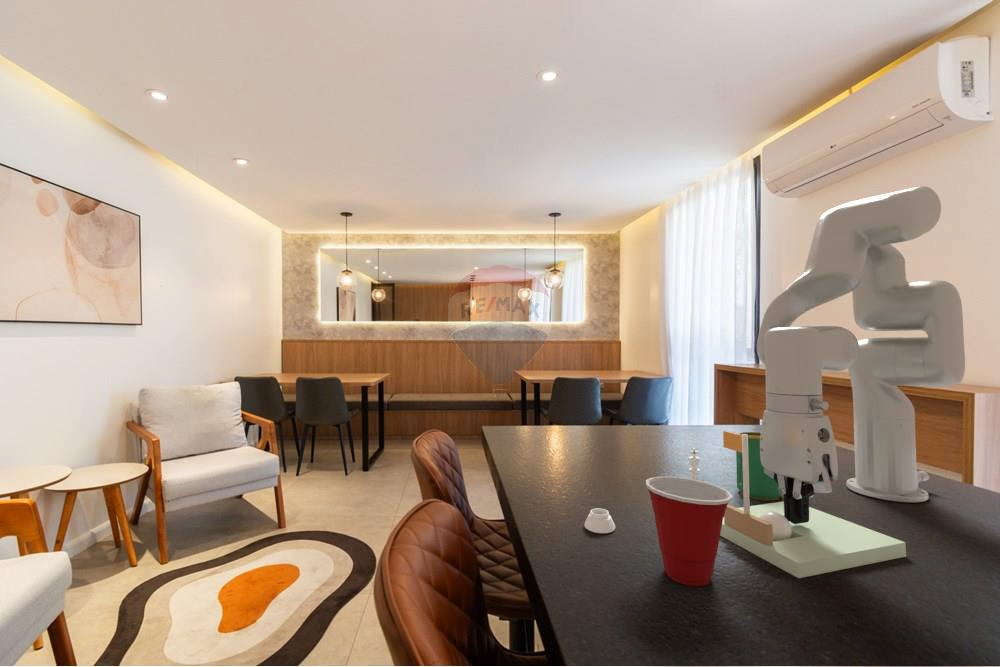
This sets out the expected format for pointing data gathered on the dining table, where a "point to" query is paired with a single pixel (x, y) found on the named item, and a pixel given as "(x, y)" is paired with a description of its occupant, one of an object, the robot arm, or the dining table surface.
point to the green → (802, 533)
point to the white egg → (778, 525)
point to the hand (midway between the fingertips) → (796, 520)
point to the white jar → (599, 521)
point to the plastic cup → (688, 526)
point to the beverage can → (756, 472)
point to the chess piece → (694, 464)
